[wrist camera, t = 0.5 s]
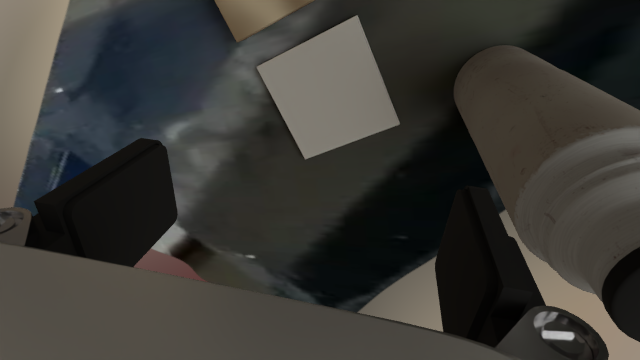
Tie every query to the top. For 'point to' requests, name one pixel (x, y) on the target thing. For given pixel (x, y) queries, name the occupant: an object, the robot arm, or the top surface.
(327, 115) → the grey mat
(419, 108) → the top surface
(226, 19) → the post block
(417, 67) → the top surface
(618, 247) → the thermos bottle
